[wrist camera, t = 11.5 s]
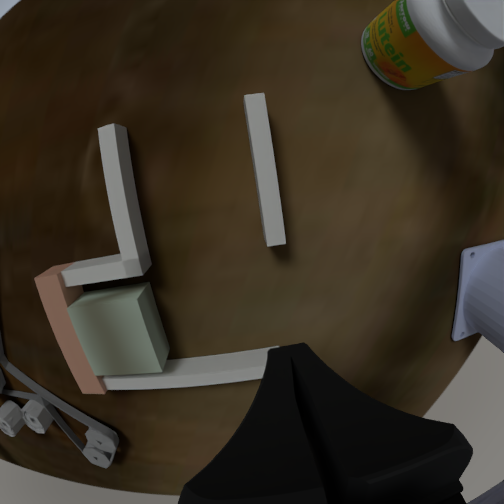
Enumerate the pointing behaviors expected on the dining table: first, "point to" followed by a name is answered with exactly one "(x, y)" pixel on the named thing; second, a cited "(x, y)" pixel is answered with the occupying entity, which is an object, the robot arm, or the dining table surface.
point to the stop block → (67, 326)
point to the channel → (138, 259)
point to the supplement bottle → (432, 40)
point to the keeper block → (120, 330)
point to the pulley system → (52, 417)
